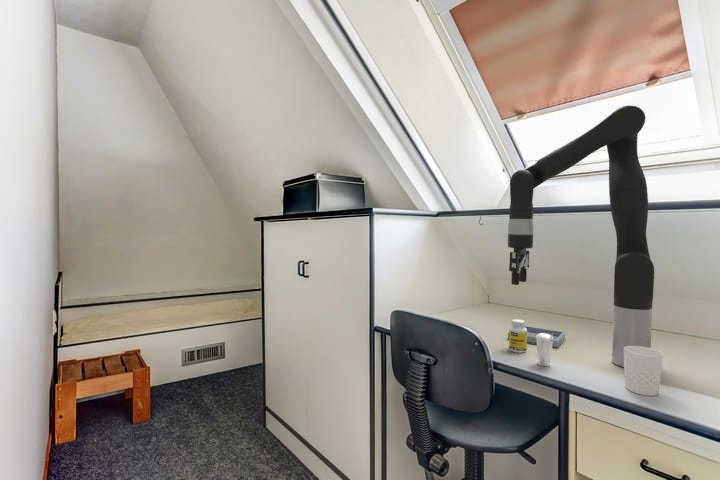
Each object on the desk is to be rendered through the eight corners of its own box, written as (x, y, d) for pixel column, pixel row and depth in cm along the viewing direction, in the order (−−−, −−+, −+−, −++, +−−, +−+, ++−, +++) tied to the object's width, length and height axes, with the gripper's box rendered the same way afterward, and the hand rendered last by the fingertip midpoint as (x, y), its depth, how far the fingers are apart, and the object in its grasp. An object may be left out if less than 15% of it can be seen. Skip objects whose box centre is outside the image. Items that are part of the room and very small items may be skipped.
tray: (565, 338, 140) (565, 332, 140) (557, 348, 128) (557, 341, 128) (518, 331, 149) (518, 324, 149) (507, 339, 138) (508, 332, 138)
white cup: (666, 399, 91) (668, 357, 91) (627, 394, 94) (628, 353, 94) (655, 386, 98) (656, 347, 98) (618, 381, 101) (620, 344, 101)
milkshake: (544, 369, 110) (545, 334, 110) (531, 362, 115) (532, 329, 115) (558, 367, 111) (559, 333, 111) (544, 361, 117) (545, 328, 116)
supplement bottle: (507, 351, 125) (508, 321, 125) (509, 346, 130) (510, 317, 130) (525, 354, 123) (526, 323, 122) (527, 349, 128) (528, 319, 127)
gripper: (527, 233, 117) (525, 287, 118) (538, 233, 128) (536, 281, 129) (501, 233, 122) (500, 284, 122) (514, 232, 133) (513, 279, 134)
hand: (519, 283), depth 126 cm, fingers open, 8 cm apart
